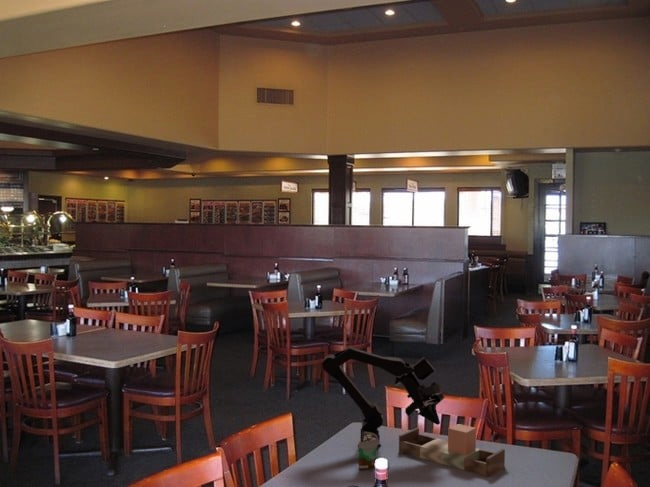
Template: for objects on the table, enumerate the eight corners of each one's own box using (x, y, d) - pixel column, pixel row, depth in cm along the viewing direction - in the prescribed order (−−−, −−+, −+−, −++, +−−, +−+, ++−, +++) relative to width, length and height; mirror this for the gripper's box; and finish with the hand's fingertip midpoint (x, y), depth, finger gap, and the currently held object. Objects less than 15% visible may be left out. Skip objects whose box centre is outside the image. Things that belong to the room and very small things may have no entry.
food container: (376, 473, 214) (377, 443, 213) (358, 471, 215) (358, 442, 215) (380, 460, 226) (381, 432, 226) (363, 459, 227) (363, 430, 227)
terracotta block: (447, 451, 224) (448, 428, 224) (457, 445, 230) (458, 423, 230) (466, 455, 220) (466, 432, 220) (475, 450, 225) (475, 427, 225)
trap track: (398, 451, 235) (399, 435, 235) (416, 443, 244) (416, 427, 244) (488, 476, 212) (489, 458, 212) (504, 466, 221) (504, 449, 221)
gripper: (413, 379, 226) (439, 417, 219) (440, 371, 240) (466, 406, 234) (394, 397, 232) (419, 434, 225) (422, 388, 246) (446, 423, 239)
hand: (438, 424), depth 230 cm, fingers closed
